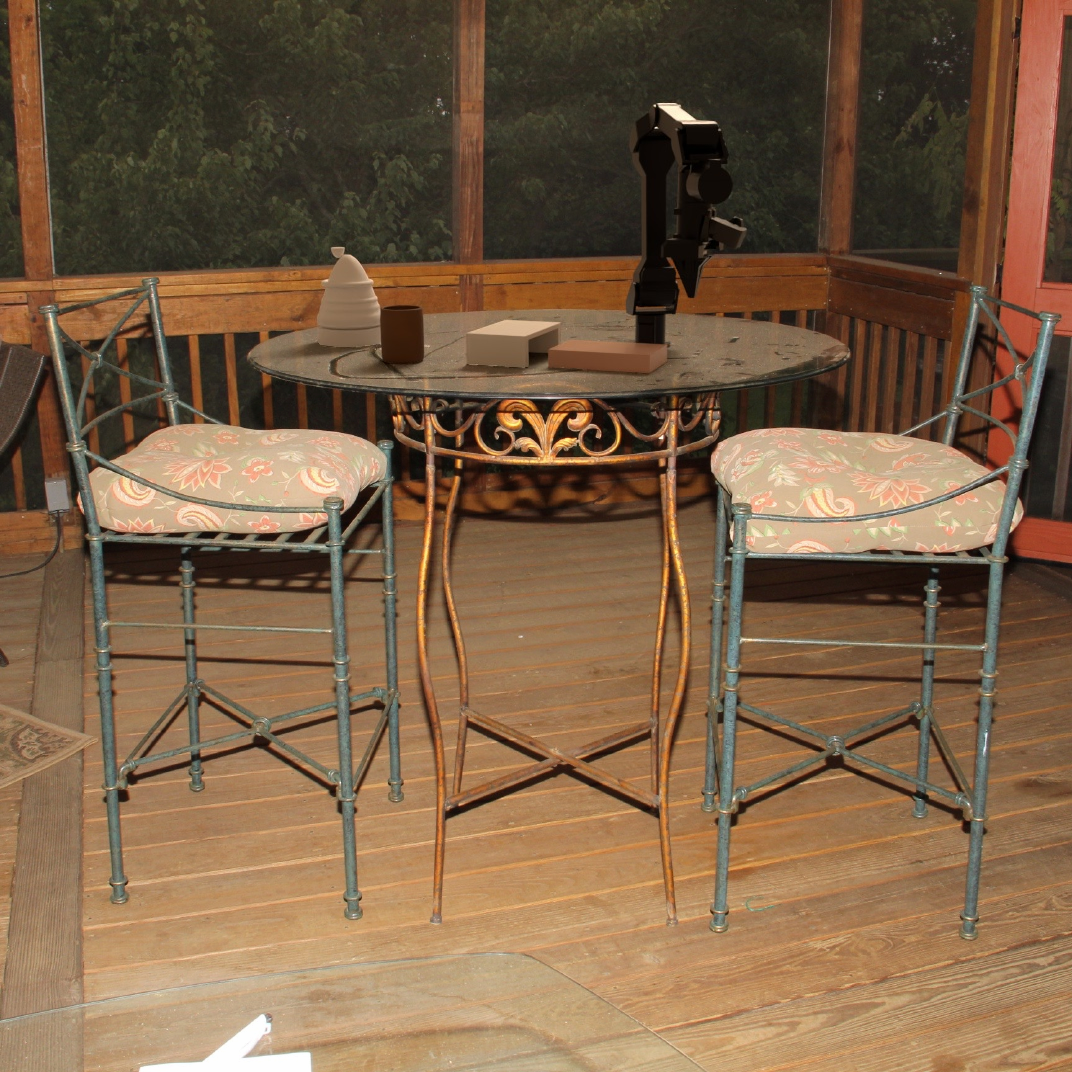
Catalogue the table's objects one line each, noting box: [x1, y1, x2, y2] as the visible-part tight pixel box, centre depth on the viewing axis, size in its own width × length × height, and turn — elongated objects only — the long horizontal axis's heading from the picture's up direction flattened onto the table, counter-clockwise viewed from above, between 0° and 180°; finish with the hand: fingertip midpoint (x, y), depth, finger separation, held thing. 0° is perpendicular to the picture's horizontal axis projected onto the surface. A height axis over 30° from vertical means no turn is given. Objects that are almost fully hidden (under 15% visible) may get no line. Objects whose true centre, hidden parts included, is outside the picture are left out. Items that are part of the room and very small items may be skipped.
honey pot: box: [316, 246, 381, 348], centre depth 243 cm, size 13×13×18 cm
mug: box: [380, 304, 425, 365], centre depth 226 cm, size 12×8×9 cm, turn 10°
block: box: [547, 339, 668, 374], centre depth 221 cm, size 12×18×4 cm, turn 71°
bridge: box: [465, 319, 562, 368], centre depth 226 cm, size 18×11×6 cm, turn 159°
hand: (691, 297), depth 213 cm, fingers closed
